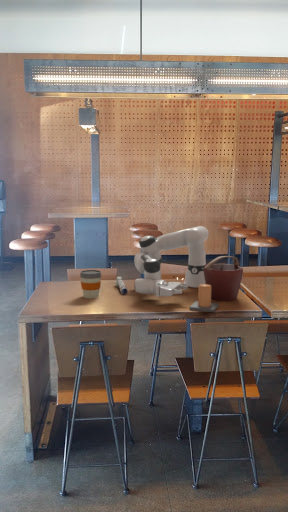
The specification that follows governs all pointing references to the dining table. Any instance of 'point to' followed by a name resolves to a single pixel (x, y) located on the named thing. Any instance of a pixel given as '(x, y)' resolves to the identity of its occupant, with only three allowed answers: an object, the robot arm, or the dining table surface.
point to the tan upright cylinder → (204, 295)
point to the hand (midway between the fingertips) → (184, 289)
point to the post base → (207, 309)
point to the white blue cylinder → (121, 285)
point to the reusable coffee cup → (90, 283)
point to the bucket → (223, 279)
